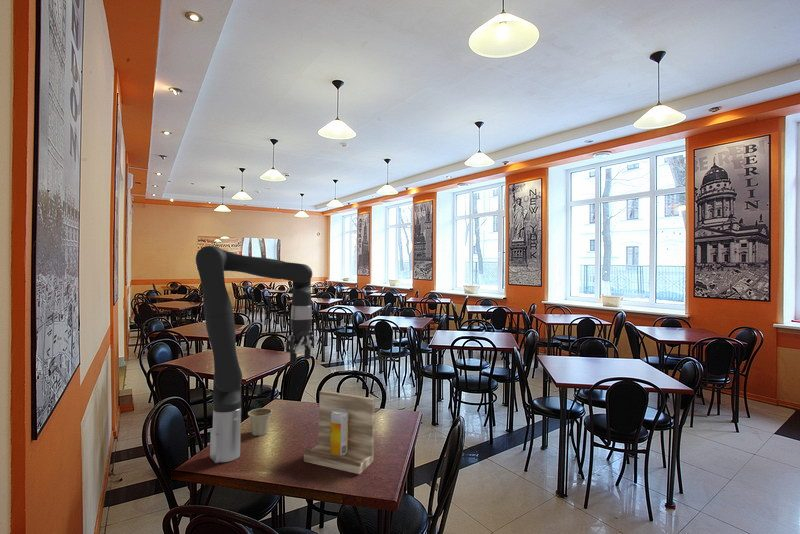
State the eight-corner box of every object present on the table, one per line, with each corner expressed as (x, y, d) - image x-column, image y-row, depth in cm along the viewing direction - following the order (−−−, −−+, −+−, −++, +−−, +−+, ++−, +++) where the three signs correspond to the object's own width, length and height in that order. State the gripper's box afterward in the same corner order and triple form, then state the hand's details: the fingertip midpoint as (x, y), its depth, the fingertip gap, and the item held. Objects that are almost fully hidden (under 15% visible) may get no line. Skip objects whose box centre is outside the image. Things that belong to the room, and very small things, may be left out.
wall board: (359, 474, 134) (360, 407, 135) (303, 461, 143) (305, 398, 143) (373, 460, 144) (374, 398, 145) (320, 449, 153) (322, 390, 153)
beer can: (339, 448, 148) (340, 407, 148) (351, 453, 144) (352, 410, 144) (326, 454, 143) (327, 411, 144) (338, 459, 139) (339, 415, 140)
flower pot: (242, 435, 164) (242, 414, 164) (257, 427, 173) (258, 406, 173) (262, 439, 161) (262, 417, 161) (276, 430, 170) (276, 409, 170)
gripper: (304, 315, 160) (303, 356, 160) (280, 318, 147) (279, 364, 147) (320, 316, 157) (319, 358, 157) (298, 320, 144) (297, 366, 144)
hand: (300, 361), depth 152 cm, fingers open, 8 cm apart
